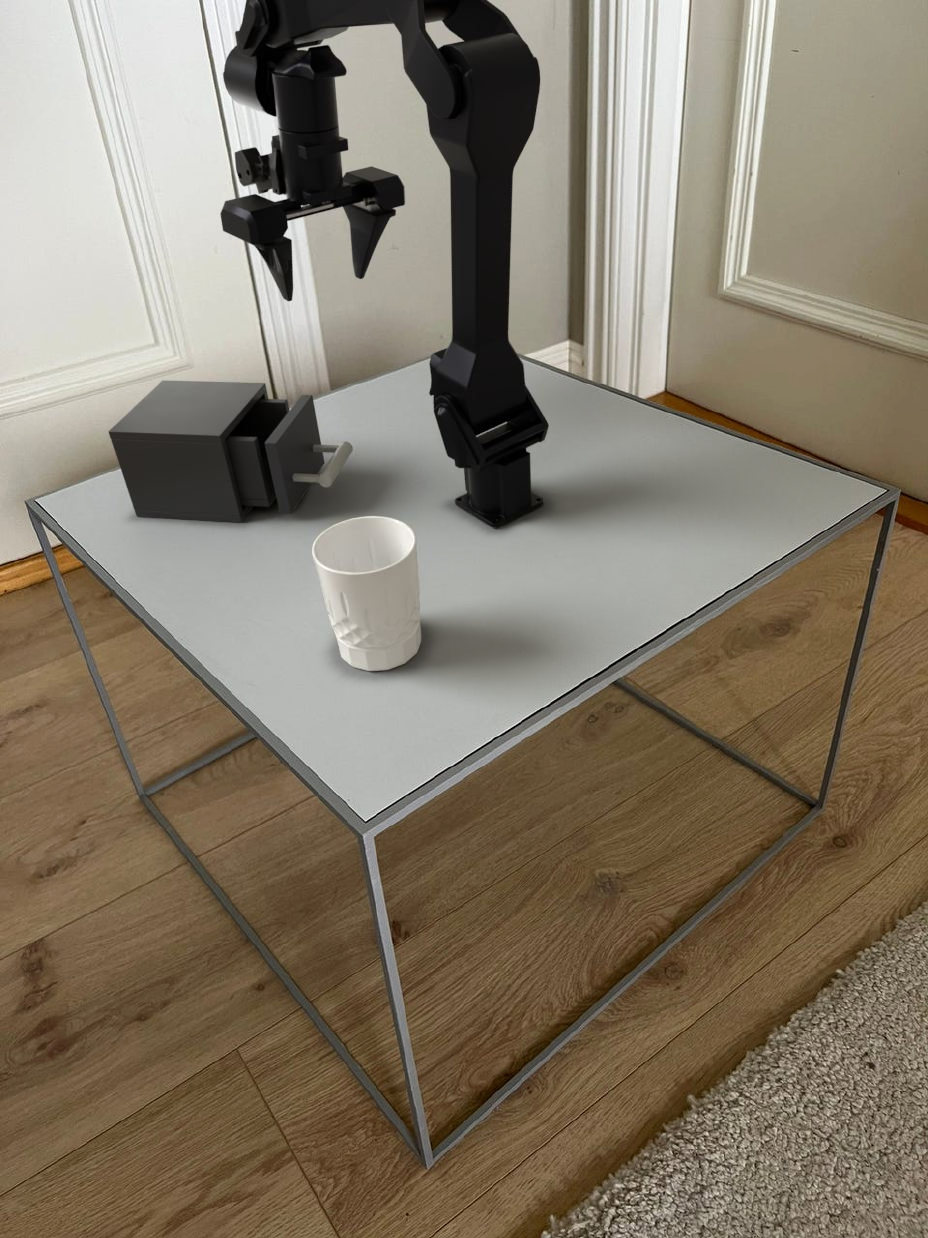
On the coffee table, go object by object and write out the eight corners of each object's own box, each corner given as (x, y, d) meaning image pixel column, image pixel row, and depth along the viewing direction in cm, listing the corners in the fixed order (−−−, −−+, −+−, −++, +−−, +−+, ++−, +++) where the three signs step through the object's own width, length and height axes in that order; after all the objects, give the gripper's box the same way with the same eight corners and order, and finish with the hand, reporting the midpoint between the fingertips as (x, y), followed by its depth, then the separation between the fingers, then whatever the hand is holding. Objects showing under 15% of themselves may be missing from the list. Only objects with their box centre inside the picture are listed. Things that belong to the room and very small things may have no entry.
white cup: (415, 681, 74) (401, 577, 67) (319, 673, 75) (297, 570, 69) (437, 618, 80) (426, 518, 73) (348, 612, 81) (330, 513, 75)
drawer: (361, 464, 100) (351, 395, 95) (330, 516, 92) (317, 445, 87) (233, 458, 103) (217, 392, 98) (193, 509, 95) (173, 439, 90)
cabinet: (282, 465, 103) (265, 382, 97) (241, 522, 94) (219, 435, 88) (185, 461, 105) (162, 380, 99) (136, 516, 96) (108, 431, 90)
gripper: (338, 96, 99) (349, 248, 109) (177, 126, 89) (207, 289, 99) (405, 115, 93) (411, 274, 103) (240, 149, 83) (265, 321, 93)
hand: (324, 288), depth 100 cm, fingers open, 9 cm apart
